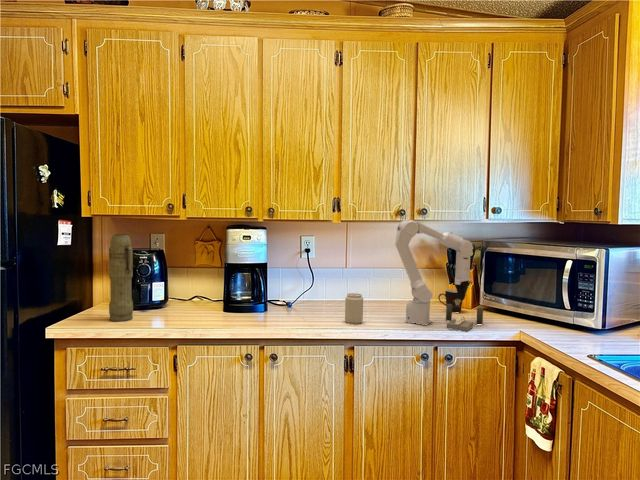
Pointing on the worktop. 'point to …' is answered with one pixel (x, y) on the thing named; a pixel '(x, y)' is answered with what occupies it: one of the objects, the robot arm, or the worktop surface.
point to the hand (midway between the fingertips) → (461, 299)
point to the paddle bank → (460, 320)
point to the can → (354, 308)
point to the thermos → (120, 278)
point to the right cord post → (479, 315)
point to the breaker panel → (460, 325)
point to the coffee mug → (452, 299)
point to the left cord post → (449, 311)
